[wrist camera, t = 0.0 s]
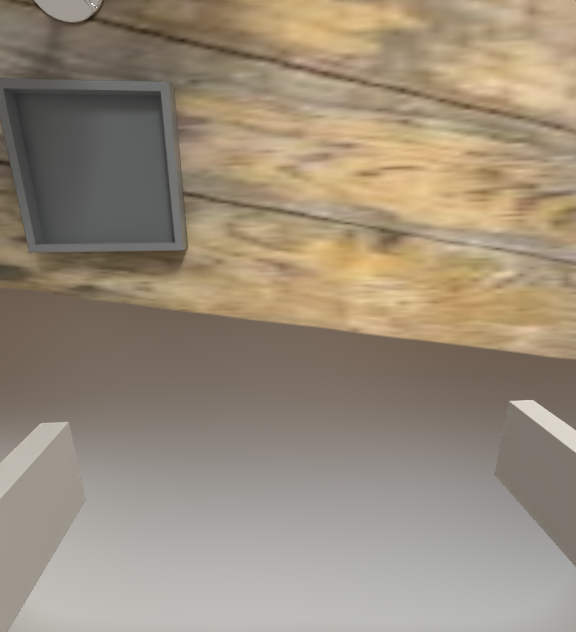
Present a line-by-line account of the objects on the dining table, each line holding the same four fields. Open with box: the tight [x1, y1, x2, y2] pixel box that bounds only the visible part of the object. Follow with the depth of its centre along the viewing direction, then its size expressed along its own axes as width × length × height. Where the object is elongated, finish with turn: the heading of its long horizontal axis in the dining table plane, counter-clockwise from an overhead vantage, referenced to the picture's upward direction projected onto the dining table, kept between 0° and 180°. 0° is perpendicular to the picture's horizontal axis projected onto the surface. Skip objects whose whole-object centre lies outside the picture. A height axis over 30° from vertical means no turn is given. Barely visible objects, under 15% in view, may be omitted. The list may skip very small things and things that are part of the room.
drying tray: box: [0, 78, 188, 252], centre depth 32 cm, size 14×14×2 cm
